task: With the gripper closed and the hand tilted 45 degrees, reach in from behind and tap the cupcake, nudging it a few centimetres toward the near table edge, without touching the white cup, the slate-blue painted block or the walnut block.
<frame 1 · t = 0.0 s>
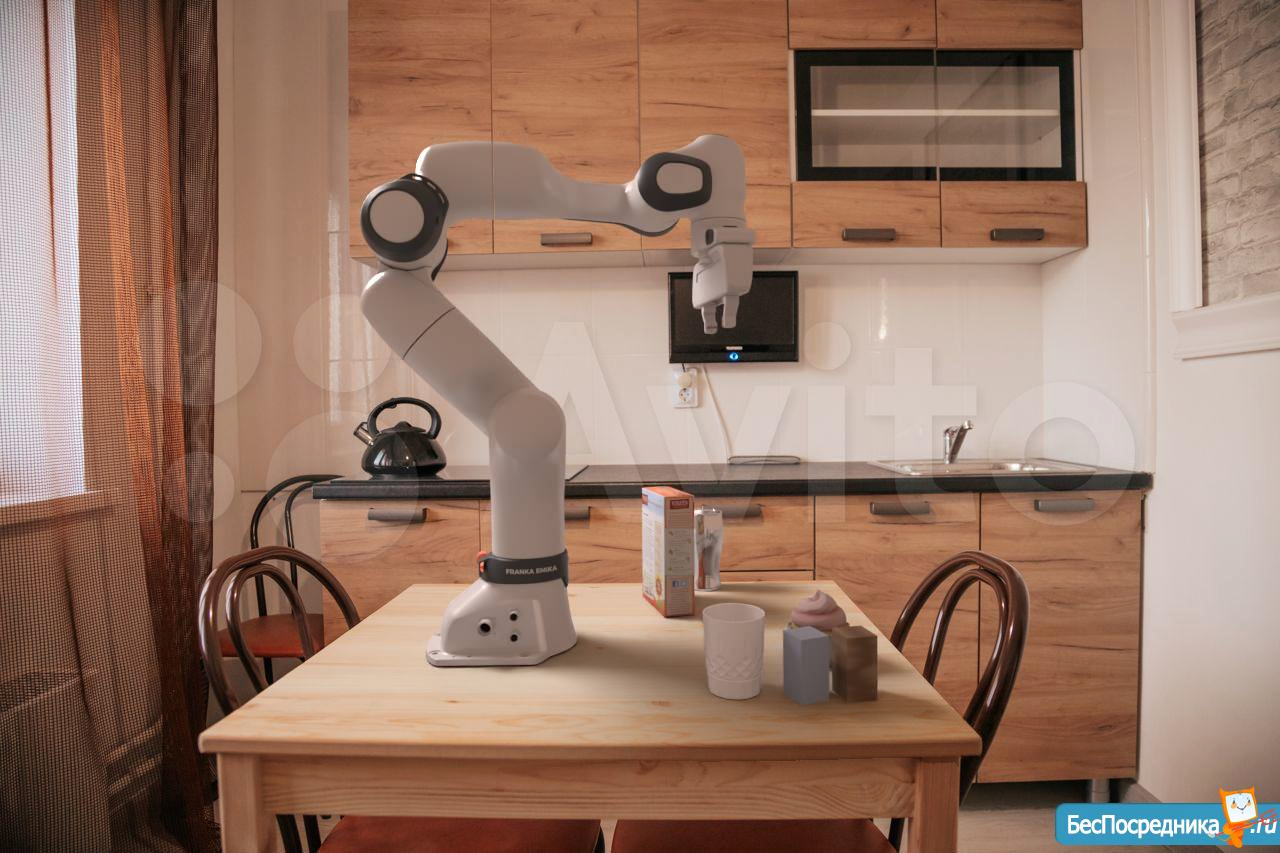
hand: (719, 330, 111), 48 cm above the table, tool pointing down, fingers open, 8 cm apart
walnut block: (854, 695, 87), on the table
beer glass: (705, 588, 137), on the table
cracker box: (668, 606, 125), on the table
cupcake: (819, 660, 99), on the table
slate-blue block: (806, 696, 86), on the table
white cup: (734, 690, 89), on the table
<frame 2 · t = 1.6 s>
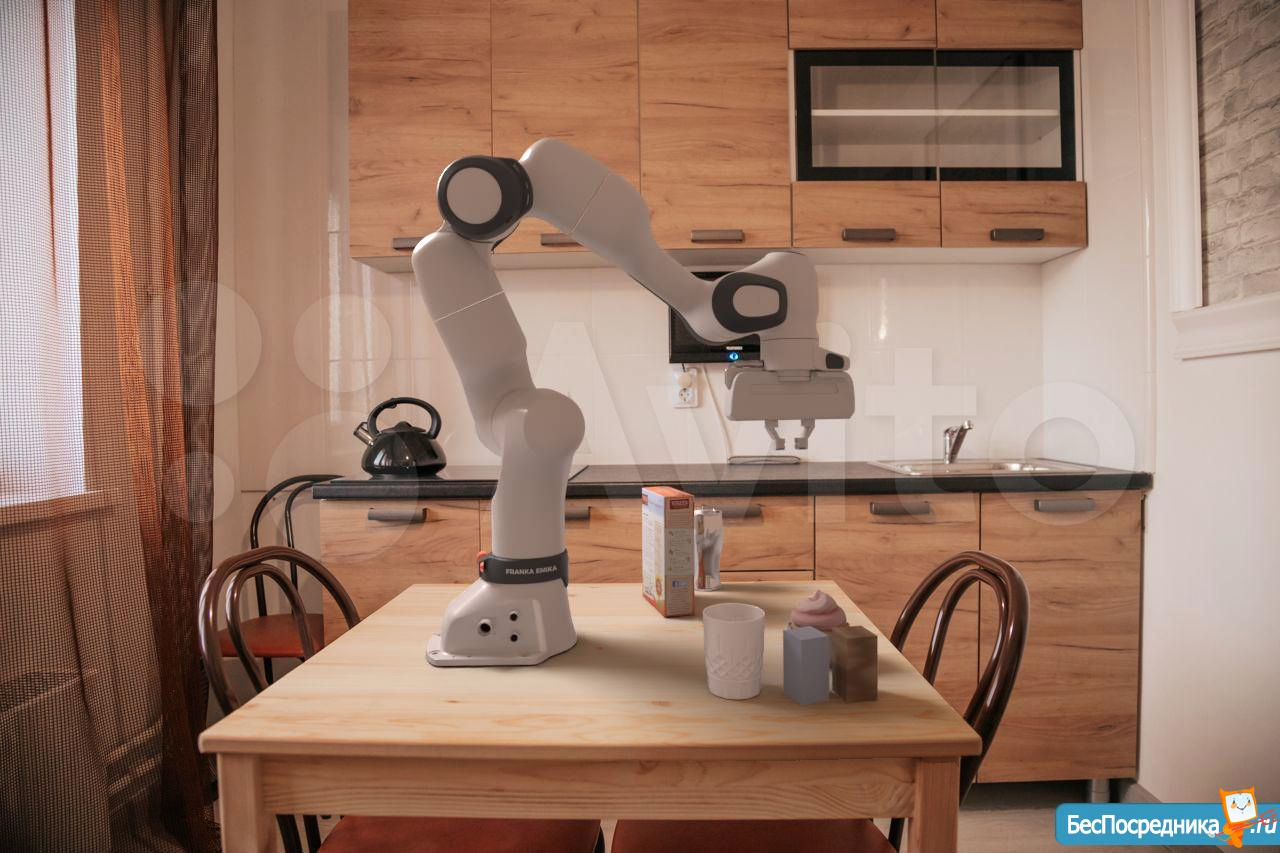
hand: (789, 449, 107), 29 cm above the table, tool pointing down, fingers closed
nothing on the table moved.
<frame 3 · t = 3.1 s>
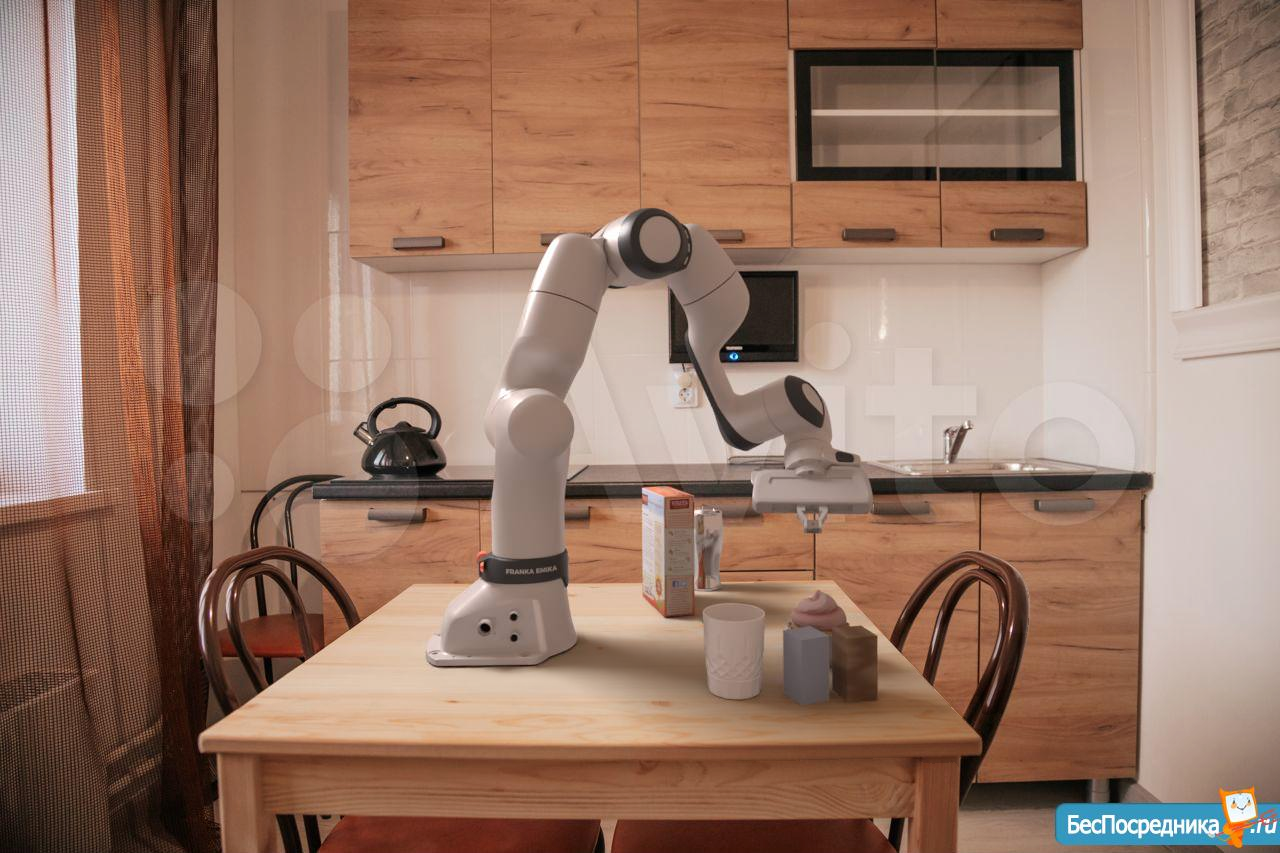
hand: (813, 531, 116), 15 cm above the table, tool tilted 45°, fingers closed
nothing on the table moved.
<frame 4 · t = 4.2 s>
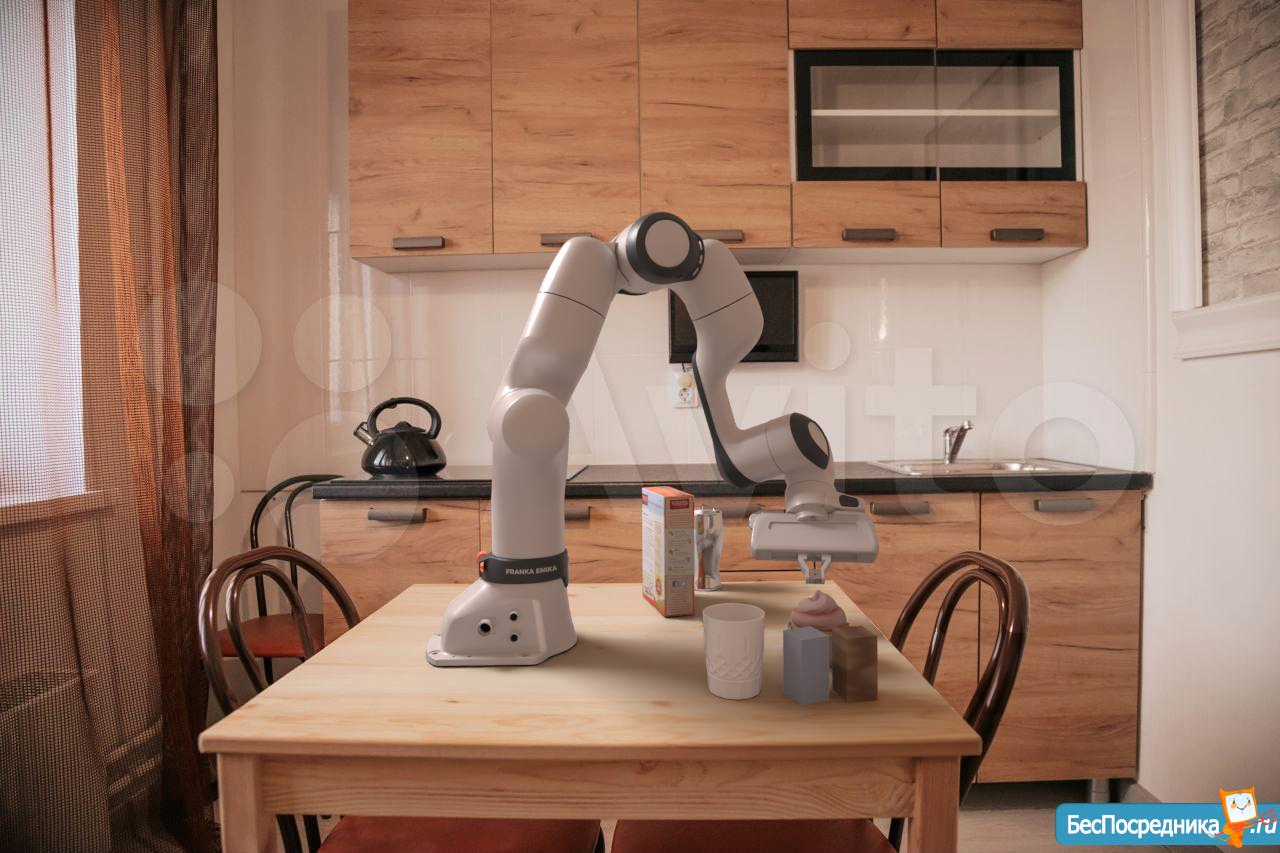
hand: (815, 582, 109), 8 cm above the table, tool tilted 45°, fingers closed
nothing on the table moved.
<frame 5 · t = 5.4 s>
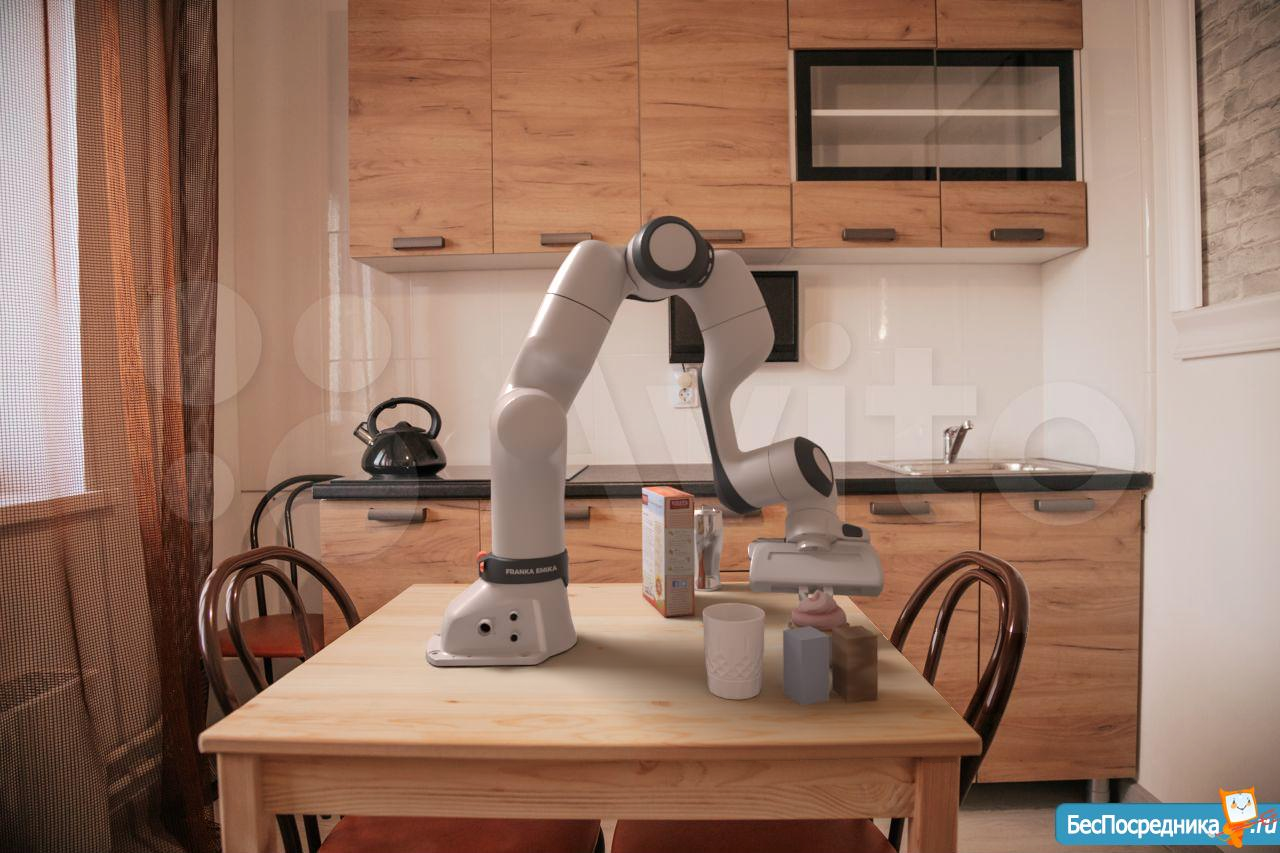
hand: (816, 617, 103), 4 cm above the table, tool tilted 45°, fingers closed, pressing on cupcake
cupcake: (819, 660, 98), on the table, touching gripper
everything else where it was.
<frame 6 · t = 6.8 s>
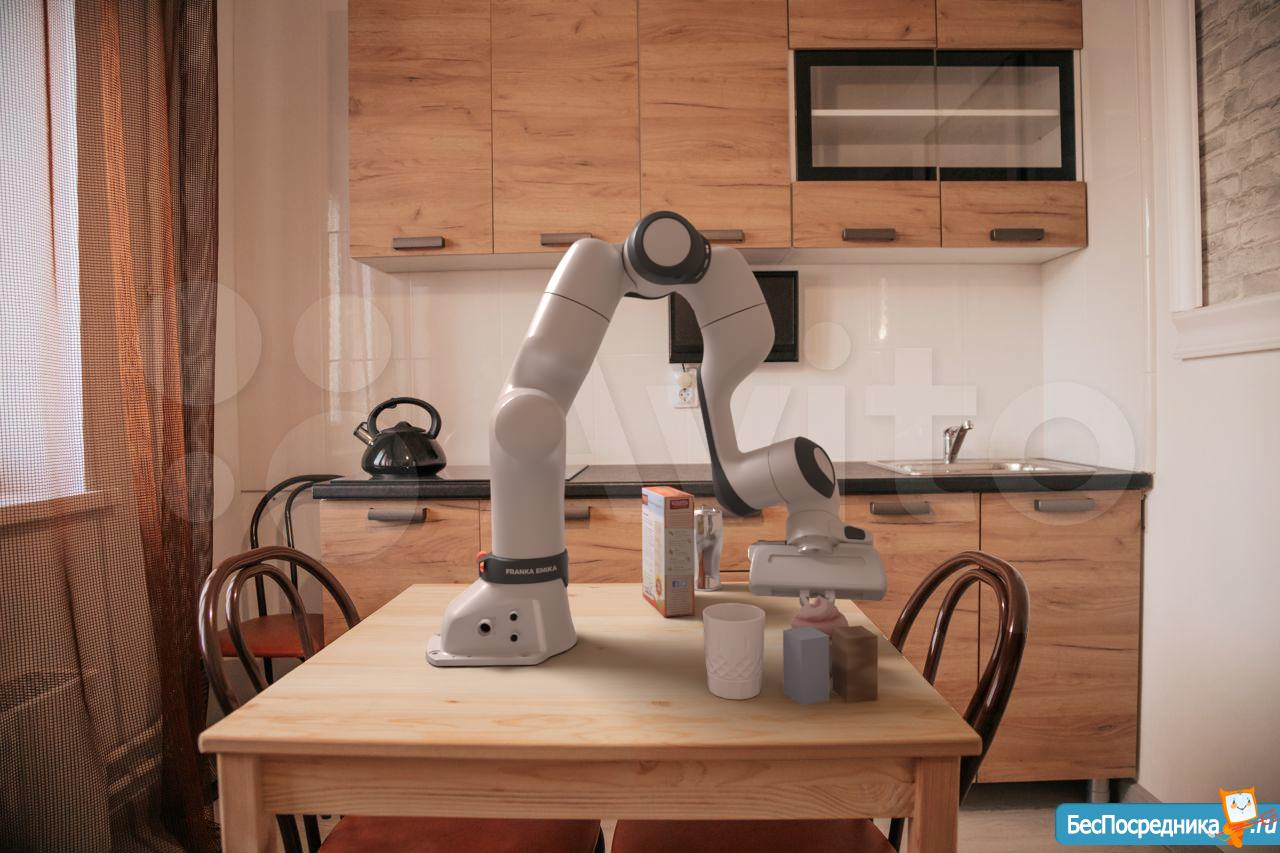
hand: (818, 622, 101), 4 cm above the table, tool tilted 45°, fingers closed
cupcake: (820, 669, 95), on the table
everything else where it was.
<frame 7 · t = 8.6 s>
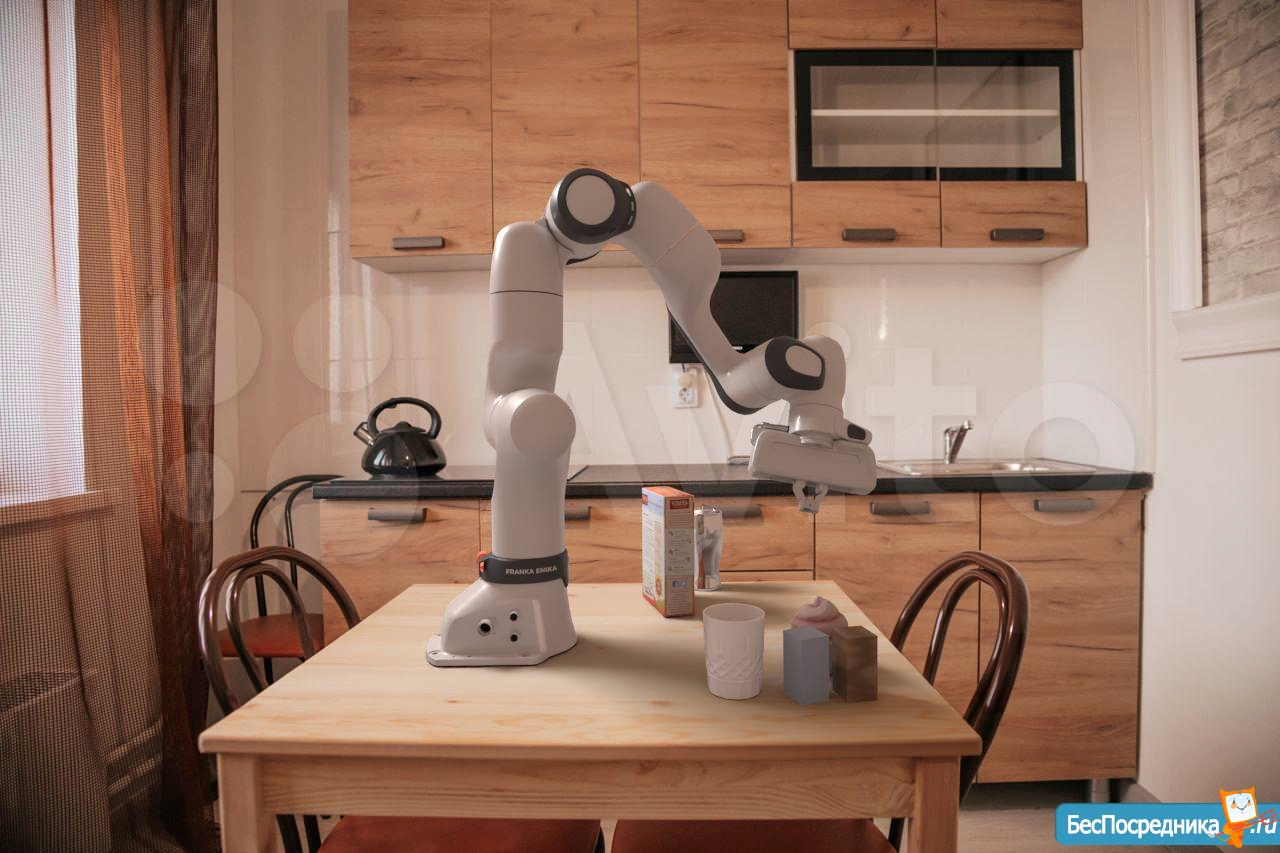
hand: (808, 512, 110), 19 cm above the table, tool tilted 25°, fingers closed
nothing on the table moved.
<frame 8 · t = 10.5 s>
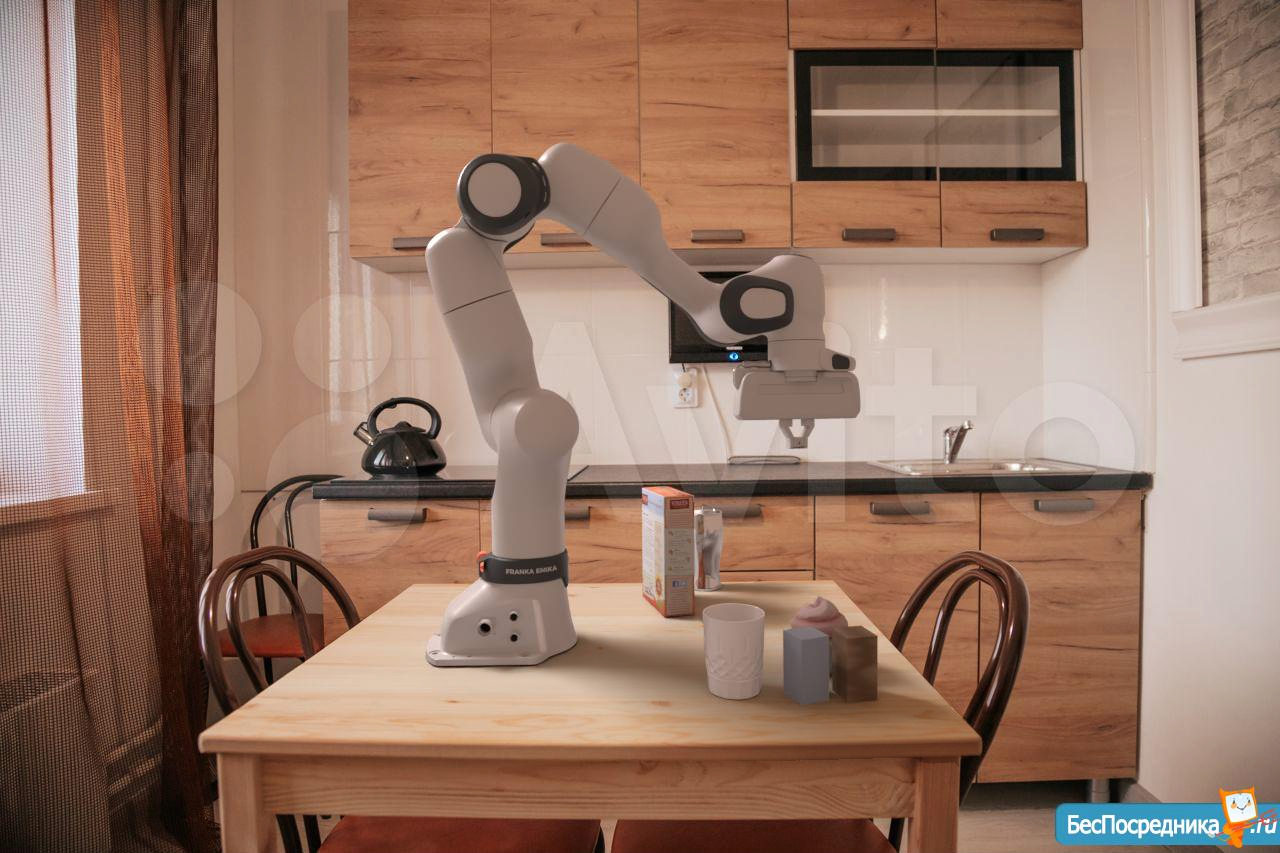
hand: (796, 448, 110), 29 cm above the table, tool pointing down, fingers closed
nothing on the table moved.
at the end: cupcake moved 3.1 cm from its start; cupcake tilted 0°; slate-blue block moved 0.0 cm from its start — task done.
